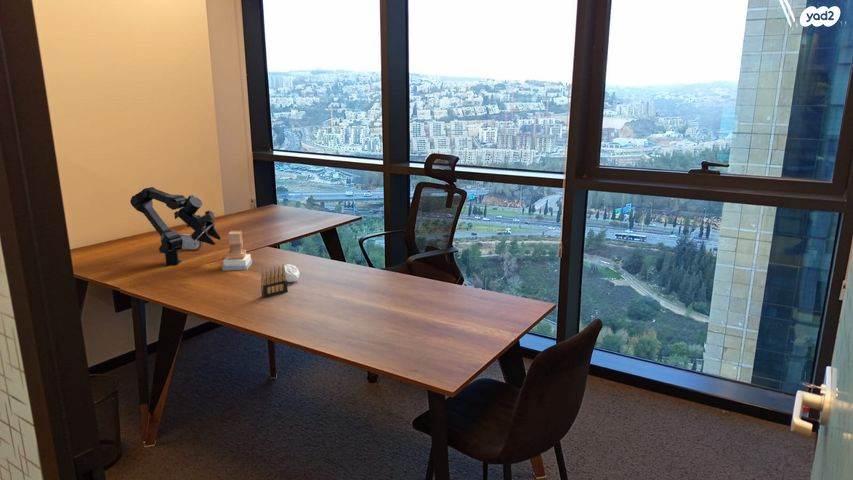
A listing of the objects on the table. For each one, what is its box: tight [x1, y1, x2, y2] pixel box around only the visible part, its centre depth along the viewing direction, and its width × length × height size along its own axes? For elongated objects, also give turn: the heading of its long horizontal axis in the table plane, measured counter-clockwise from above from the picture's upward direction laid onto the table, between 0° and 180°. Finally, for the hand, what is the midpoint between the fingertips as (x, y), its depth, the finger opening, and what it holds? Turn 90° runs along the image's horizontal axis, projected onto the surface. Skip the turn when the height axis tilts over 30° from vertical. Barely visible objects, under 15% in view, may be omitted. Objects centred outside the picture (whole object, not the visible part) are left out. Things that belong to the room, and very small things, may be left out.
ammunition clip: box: [260, 264, 289, 299], centre depth 235 cm, size 11×2×12 cm, turn 130°
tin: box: [179, 232, 204, 251], centre depth 298 cm, size 15×3×8 cm, turn 84°
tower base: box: [221, 258, 253, 271], centre depth 272 cm, size 11×11×2 cm
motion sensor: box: [281, 264, 301, 283], centre depth 250 cm, size 8×8×8 cm
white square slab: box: [222, 253, 252, 266], centre depth 271 cm, size 10×10×2 cm
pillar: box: [226, 230, 247, 259], centre depth 269 cm, size 7×7×12 cm
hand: (217, 241), depth 268 cm, fingers open, 9 cm apart
